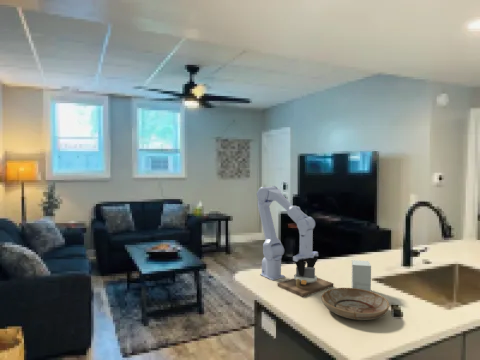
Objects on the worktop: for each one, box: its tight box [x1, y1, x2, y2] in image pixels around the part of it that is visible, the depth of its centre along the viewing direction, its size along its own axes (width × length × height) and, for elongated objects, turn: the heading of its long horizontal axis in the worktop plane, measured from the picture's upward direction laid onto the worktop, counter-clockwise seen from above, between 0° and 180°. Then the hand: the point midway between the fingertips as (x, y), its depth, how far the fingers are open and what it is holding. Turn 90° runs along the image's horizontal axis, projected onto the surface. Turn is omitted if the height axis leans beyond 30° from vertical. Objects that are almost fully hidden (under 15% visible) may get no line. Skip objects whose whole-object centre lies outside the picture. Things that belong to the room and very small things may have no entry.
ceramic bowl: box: [321, 287, 390, 321], centre depth 122 cm, size 23×24×5 cm
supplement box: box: [351, 259, 372, 292], centre depth 141 cm, size 7×7×13 cm
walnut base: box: [277, 277, 334, 298], centre depth 147 cm, size 15×20×5 cm
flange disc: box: [293, 266, 318, 285], centre depth 146 cm, size 12×10×5 cm
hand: (305, 274), depth 147 cm, fingers closed on flange disc, 5 cm apart
